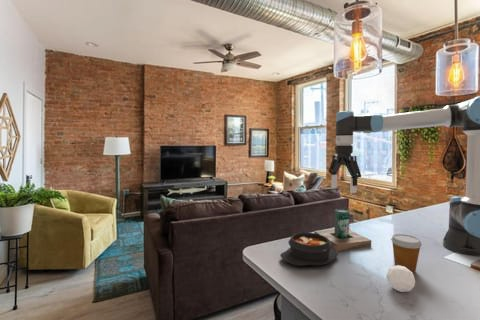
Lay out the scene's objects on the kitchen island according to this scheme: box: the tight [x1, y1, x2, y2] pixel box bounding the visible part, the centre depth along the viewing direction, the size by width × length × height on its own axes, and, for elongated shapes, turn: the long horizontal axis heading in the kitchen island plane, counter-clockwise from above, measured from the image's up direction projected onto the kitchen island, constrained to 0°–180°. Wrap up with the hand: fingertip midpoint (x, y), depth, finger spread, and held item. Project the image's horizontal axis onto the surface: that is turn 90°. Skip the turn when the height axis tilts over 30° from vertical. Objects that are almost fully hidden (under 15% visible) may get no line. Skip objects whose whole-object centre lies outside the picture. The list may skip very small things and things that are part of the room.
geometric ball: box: [386, 265, 416, 293], centre depth 83 cm, size 8×8×8 cm
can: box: [334, 208, 350, 239], centre depth 123 cm, size 6×6×15 cm
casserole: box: [279, 232, 339, 267], centre depth 105 cm, size 25×19×8 cm
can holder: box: [313, 228, 372, 252], centre depth 123 cm, size 18×18×3 cm
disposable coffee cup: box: [390, 233, 423, 274], centre depth 96 cm, size 10×10×12 cm
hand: (343, 190), depth 122 cm, fingers open, 13 cm apart
